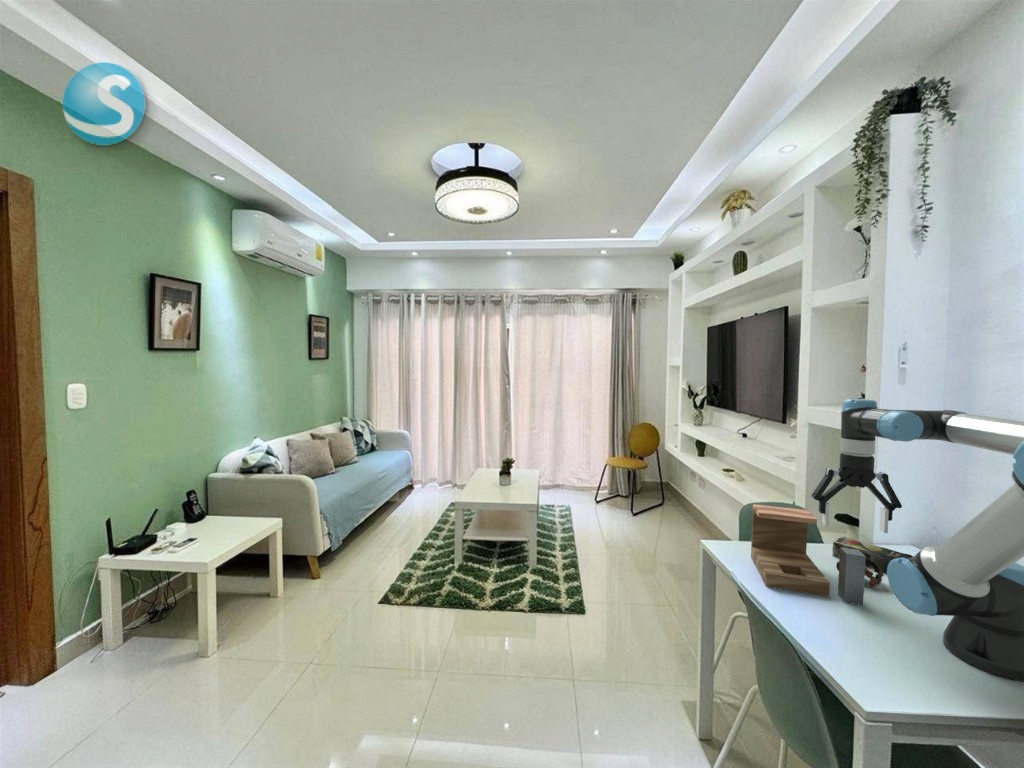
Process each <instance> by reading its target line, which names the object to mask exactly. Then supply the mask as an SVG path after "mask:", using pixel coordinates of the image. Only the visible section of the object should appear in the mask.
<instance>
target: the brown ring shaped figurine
mask: <svg viewBox="0 0 1024 768" xmlns="http://www.w3.org/2000/svg"><path fill="white" fill-rule="evenodd" d="M865 564H867V565H870V566H873V568H874V569H873V571H871V570H870V569H869V568H868V567H865V577H867V578H868V579H869V582H868V583H867V586H868V587H870V588H872V587H873V588H874V587H876V585H877V586H878V585H880V584H881V583H882V580H883V577H884V574H885V573H884V572H883V571H882V569H881V568H880V567H879V566H878V565H877V564H876V563H875V562H873V561H872V560H870V559H868V558H866V561H865ZM835 567H836V569H837V571H838V572H839V561H837V562H836V566H835ZM874 572H875V573H876V574H875V576H874Z"/></svg>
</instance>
